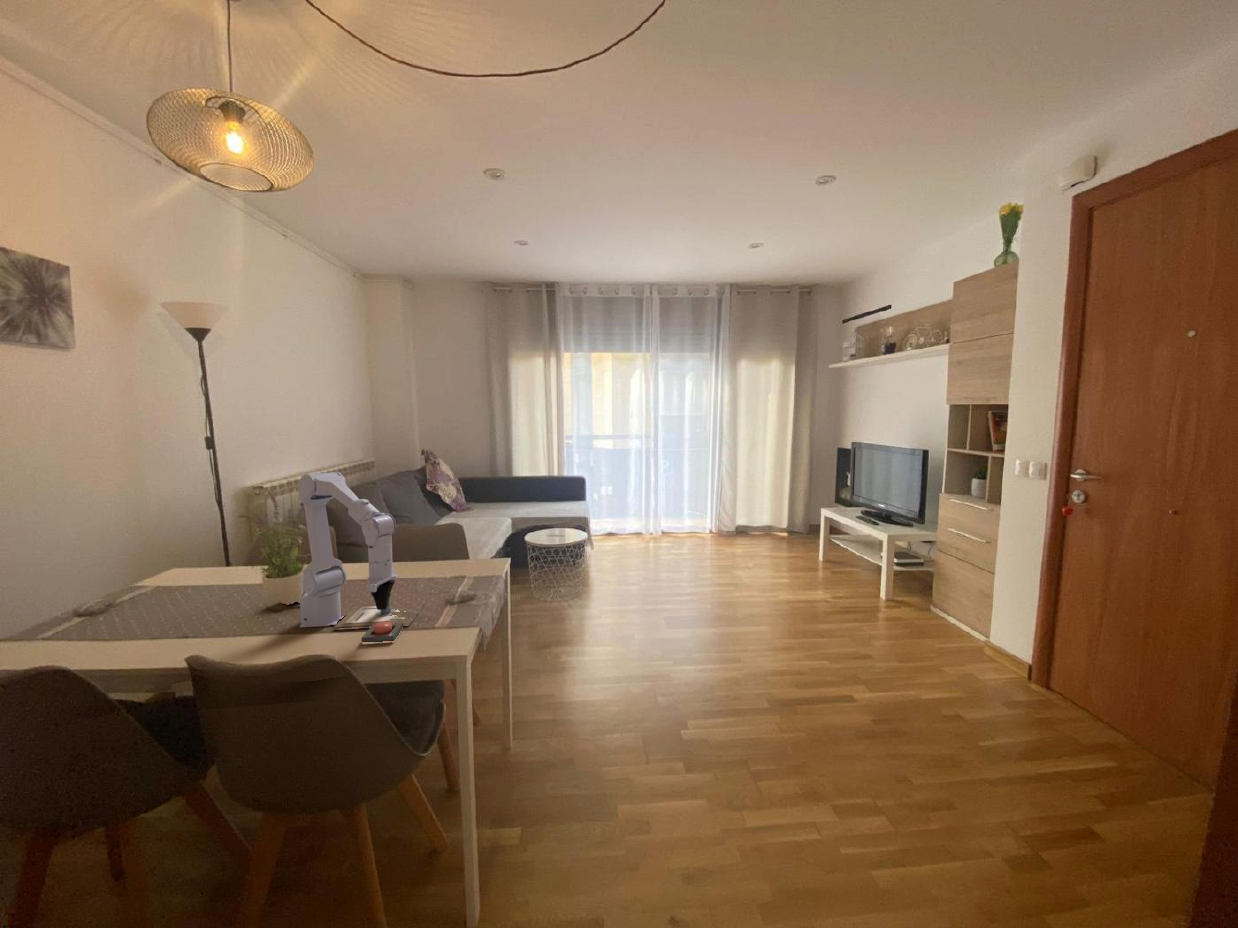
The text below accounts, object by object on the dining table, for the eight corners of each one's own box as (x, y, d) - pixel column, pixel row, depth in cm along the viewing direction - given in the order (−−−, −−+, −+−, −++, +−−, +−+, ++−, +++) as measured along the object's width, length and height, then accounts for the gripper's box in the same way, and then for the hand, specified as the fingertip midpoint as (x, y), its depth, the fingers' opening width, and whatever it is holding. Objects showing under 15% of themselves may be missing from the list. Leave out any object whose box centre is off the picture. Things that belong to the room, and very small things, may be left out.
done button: (371, 635, 123) (371, 628, 122) (377, 628, 127) (377, 621, 127) (388, 634, 123) (388, 627, 123) (394, 627, 128) (394, 620, 127)
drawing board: (334, 630, 129) (334, 626, 129) (357, 608, 145) (357, 604, 145) (409, 626, 132) (409, 622, 132) (424, 604, 148) (424, 601, 148)
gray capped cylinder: (378, 615, 137) (377, 595, 136) (382, 611, 140) (381, 591, 139) (389, 614, 137) (388, 595, 136) (392, 610, 140) (392, 591, 139)
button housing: (361, 644, 121) (361, 637, 121) (373, 631, 129) (373, 624, 128) (394, 643, 122) (393, 635, 122) (403, 629, 130) (403, 622, 130)
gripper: (387, 567, 117) (388, 618, 118) (404, 552, 131) (406, 597, 132) (357, 568, 116) (359, 620, 117) (378, 552, 130) (380, 599, 131)
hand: (382, 608), depth 125 cm, fingers closed
